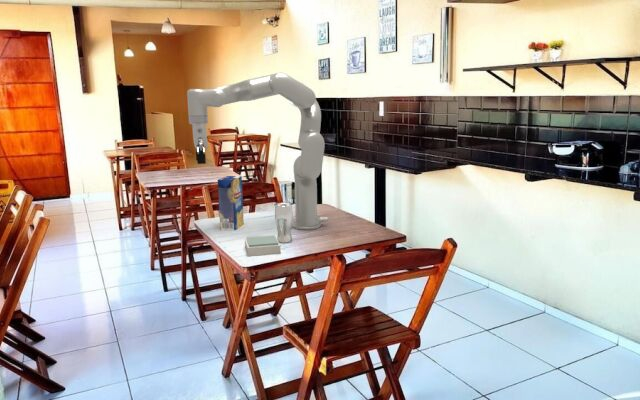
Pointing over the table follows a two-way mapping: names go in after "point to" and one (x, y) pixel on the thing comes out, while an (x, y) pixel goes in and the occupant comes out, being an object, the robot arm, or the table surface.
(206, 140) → the robot arm
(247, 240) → the base
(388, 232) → the table surface
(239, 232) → the table surface
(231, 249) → the table surface
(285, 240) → the beer glass
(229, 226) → the beverage box
